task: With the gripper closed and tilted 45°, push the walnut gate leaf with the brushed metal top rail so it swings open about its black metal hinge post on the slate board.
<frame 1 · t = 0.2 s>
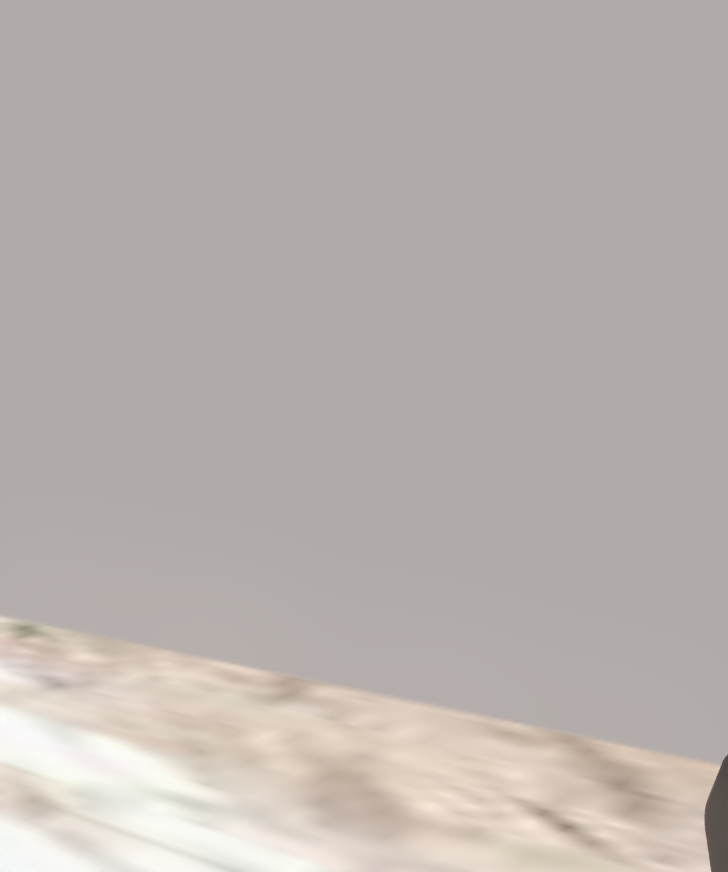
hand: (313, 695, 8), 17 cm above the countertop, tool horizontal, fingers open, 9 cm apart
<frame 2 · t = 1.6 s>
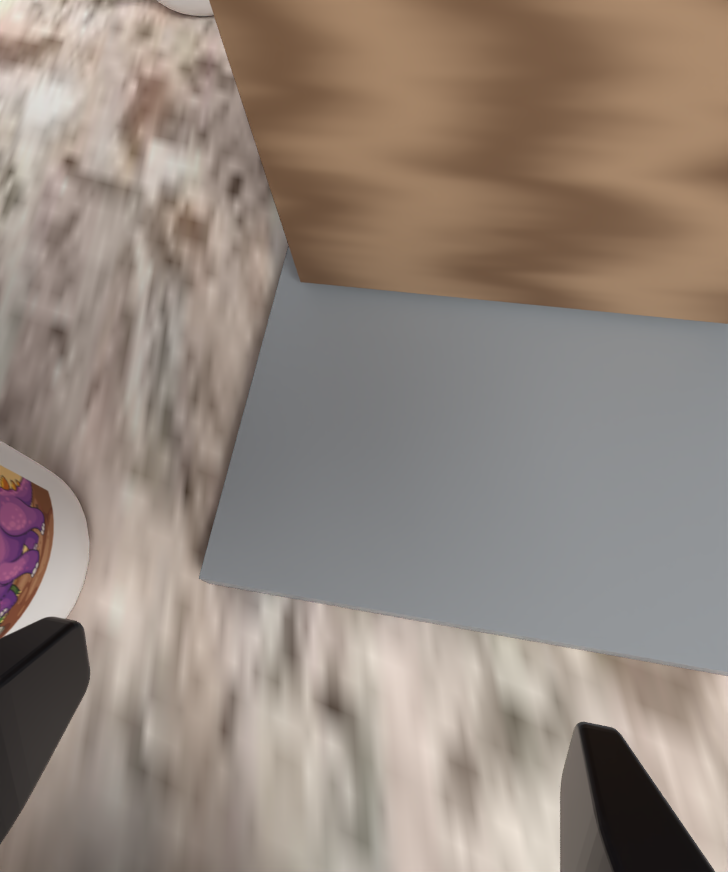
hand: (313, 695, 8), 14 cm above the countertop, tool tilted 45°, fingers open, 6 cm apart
gate leaf: (529, 145, 18), point 8 cm above the countertop, hinge at 0.0°
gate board: (621, 391, 23), on the countertop
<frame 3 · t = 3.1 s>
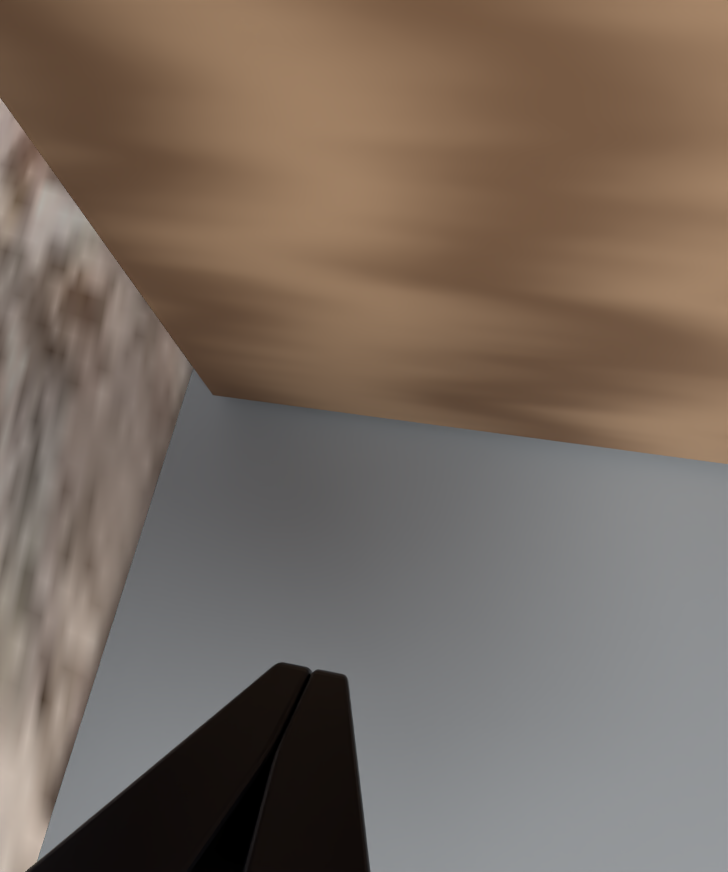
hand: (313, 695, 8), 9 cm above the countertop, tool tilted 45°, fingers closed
gate leaf: (535, 241, 11), point 8 cm above the countertop, hinge at 0.0°
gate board: (663, 562, 16), on the countertop
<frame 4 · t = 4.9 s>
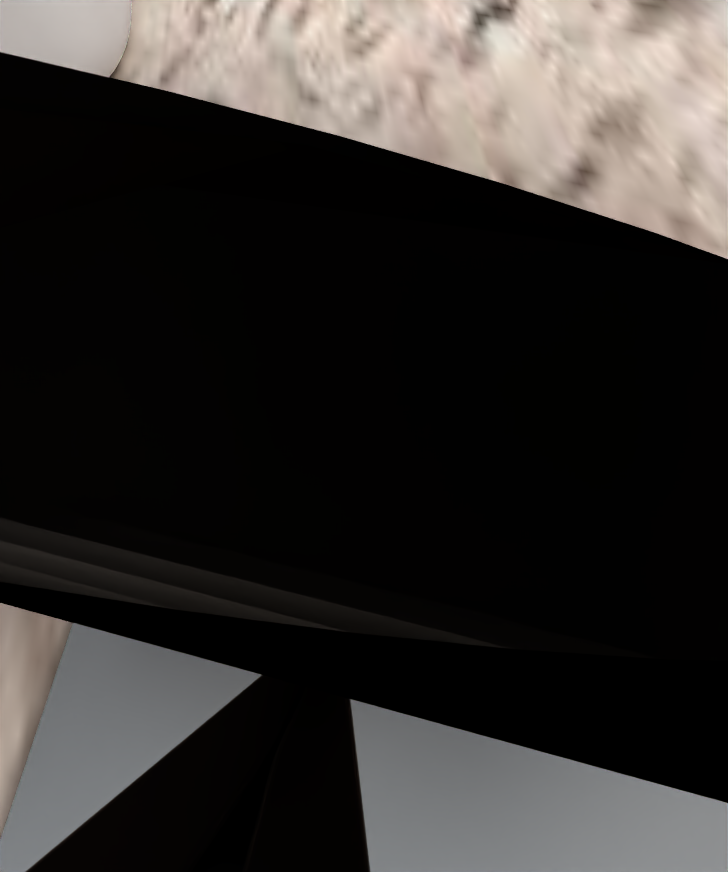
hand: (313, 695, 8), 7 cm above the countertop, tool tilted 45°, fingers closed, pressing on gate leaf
gate leaf: (506, 645, 7), point 8 cm above the countertop, hinge at 3.8°, touching gripper
teacup: (27, 86, 23), on the countertop
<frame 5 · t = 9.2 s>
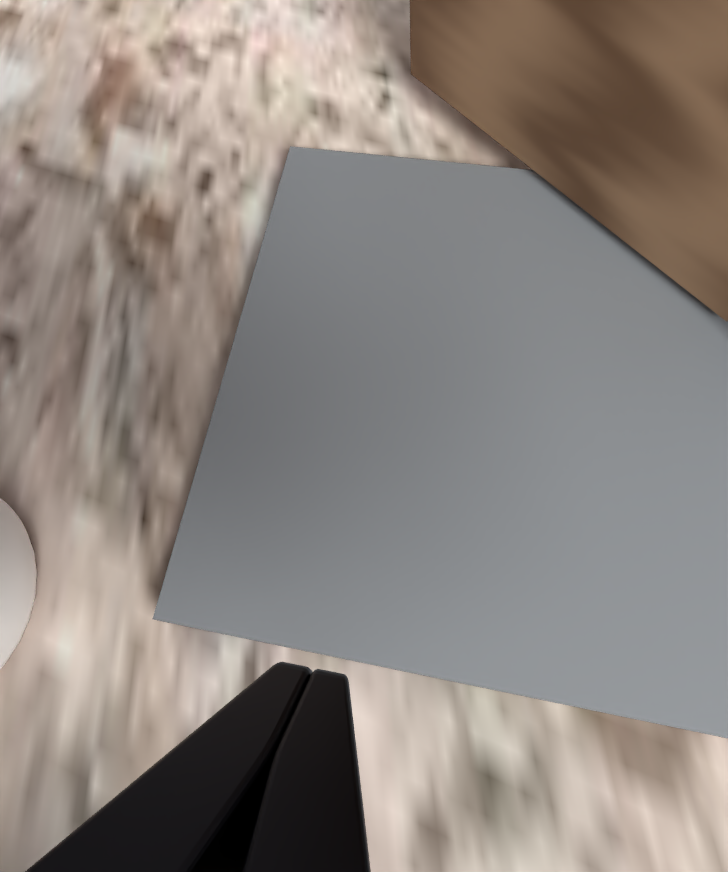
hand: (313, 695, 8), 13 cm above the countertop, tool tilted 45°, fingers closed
gate leaf: (619, 0, 17), point 8 cm above the countertop, hinge at 38.3°
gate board: (612, 420, 22), on the countertop
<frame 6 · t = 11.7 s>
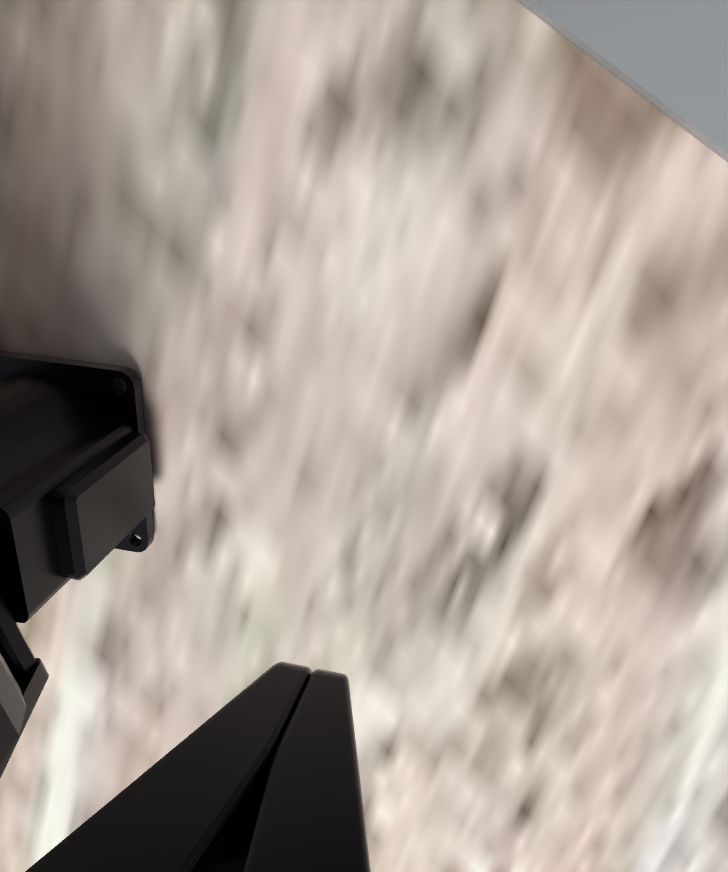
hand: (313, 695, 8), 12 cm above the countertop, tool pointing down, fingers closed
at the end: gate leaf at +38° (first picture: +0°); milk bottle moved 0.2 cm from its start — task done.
